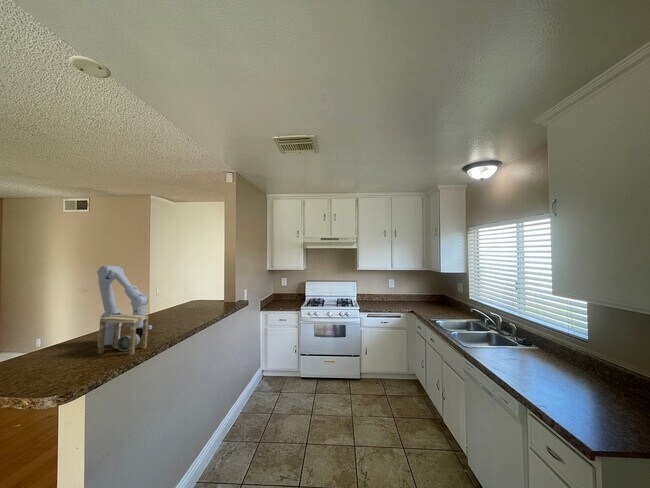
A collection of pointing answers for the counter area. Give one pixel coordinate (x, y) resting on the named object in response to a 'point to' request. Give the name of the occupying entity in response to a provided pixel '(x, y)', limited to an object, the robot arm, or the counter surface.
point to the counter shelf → (116, 320)
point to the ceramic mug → (126, 342)
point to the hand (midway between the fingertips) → (137, 341)
